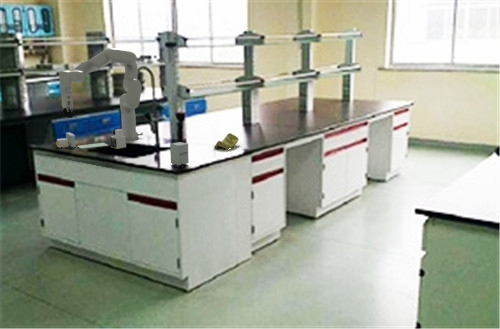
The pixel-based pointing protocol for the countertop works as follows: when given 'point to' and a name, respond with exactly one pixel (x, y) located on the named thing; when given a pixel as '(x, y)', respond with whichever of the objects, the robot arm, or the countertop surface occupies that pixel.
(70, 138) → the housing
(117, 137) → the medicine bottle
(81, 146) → the mat
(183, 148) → the supplement box
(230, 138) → the plastic component
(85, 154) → the countertop surface
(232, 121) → the countertop surface
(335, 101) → the countertop surface
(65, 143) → the plug
